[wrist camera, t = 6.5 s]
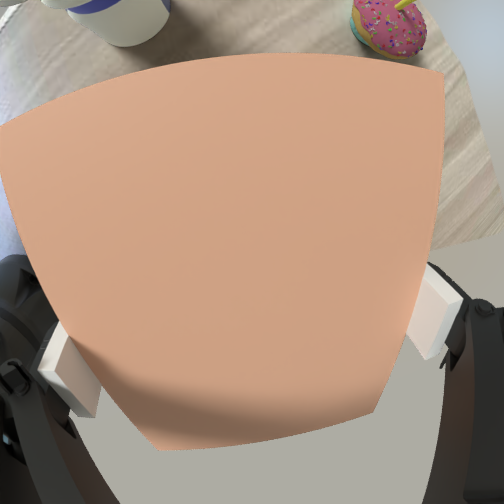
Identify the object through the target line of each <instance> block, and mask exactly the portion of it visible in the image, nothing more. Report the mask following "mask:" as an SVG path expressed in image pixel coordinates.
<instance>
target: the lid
mask: <svg viewBox="0 0 504 504" xmlns="http://www.w3.org/2000/svg"><path fill="white" fill-rule="evenodd" d="M444 131H445V94H444V74H443V73H440V72H437V71H433V70H429V69H425V68H420V67H416V66H411V65H406V64H401V63H396V62H390V61H385V60H378V59H371V58H364V57H355V56H345V55H333V54H316V53H261V54H244V55H232V56H222V57H213V58H206V59H198V60H192V61H186V62H180V63H175V64H169V65H164V66H160V67H155V68H150V69H146V70H142V71H138V72H134V73H130V74H127V75H123V76H119V77H116V78H113V79H109V80H106V81H103V82H100V83H97V84H94V85H91V86H88V87H85V88H82V89H80V90H77V91H74V92H72V93H69V94H66V95H64V96H61V97H59V98H57V99H54V100H52V101H50V102H47V103H45V104H43V105H41V106H38V107H36V108H34V109H32V110H30V111H28V112H26V113H24V114H22V115H20V116H18V117H16V118H14V119H12V120H10V121H8V122H7V123H5V124H3V125H1V126H0V174H1V178H2V182H3V186H4V190H5V193H6V197H7V200H8V203H9V206H10V210H11V213H12V216H13V219H14V222H15V225H16V227H17V230H18V233H19V236H20V238H21V241H22V243H23V246H24V248H25V251H26V253H27V256H28V258H29V260H30V263H31V265H32V267H33V270H34V272H35V274H36V276H37V278H38V280H39V282H40V285H41V287H42V289H43V291H44V293H45V295H46V297H47V299H48V300H49V302H50V304H51V306H52V308H53V310H54V312H55V314H56V315H57V317H58V319H59V321H60V322H61V324H62V326H63V328H64V329H65V331H66V333H67V334H68V335H69V337H70V338H71V340H72V342H73V343H74V345H75V346H76V348H77V349H78V351H79V353H80V354H81V356H82V357H83V359H84V360H85V362H86V363H87V364H88V366H89V367H90V369H91V370H92V372H93V373H94V374H95V376H96V377H97V379H98V380H99V381H100V383H101V384H102V386H103V387H104V389H105V390H106V391H107V393H108V394H109V395H110V396H111V398H112V399H113V400H114V402H115V403H116V404H117V405H118V406H119V408H120V409H121V410H122V411H123V412H124V414H125V415H126V416H127V417H128V418H129V419H130V421H131V422H132V423H133V424H134V425H135V426H136V427H137V429H138V430H139V431H140V432H141V433H142V434H143V435H144V436H145V437H146V438H147V439H148V440H149V441H150V442H151V443H152V444H153V446H154V447H155V448H156V449H157V450H190V449H205V448H216V447H226V446H235V445H242V444H249V443H256V442H262V441H268V440H273V439H278V438H283V437H288V436H293V435H297V434H302V433H306V432H310V431H313V430H318V429H322V428H325V427H329V426H332V425H336V424H339V423H343V422H346V421H349V420H352V419H355V418H358V417H361V416H364V415H367V414H370V413H372V412H373V411H374V409H375V407H376V405H377V403H378V401H379V398H380V396H381V394H382V392H383V390H384V388H385V385H386V383H387V381H388V379H389V376H390V374H391V372H392V369H393V367H394V364H395V361H396V359H397V356H398V354H399V352H400V349H401V346H402V344H403V341H404V338H405V335H406V331H407V328H408V325H409V322H410V319H411V316H412V313H413V310H414V307H415V303H416V300H417V297H418V293H419V289H420V286H421V282H422V278H423V276H424V272H425V268H426V264H427V260H428V255H429V251H430V246H431V241H432V236H433V231H434V226H435V220H436V214H437V207H438V201H439V193H440V185H441V176H442V165H443V152H444Z"/></svg>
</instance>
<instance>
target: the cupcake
mask: <svg viewBox="0 0 504 504" xmlns="http://www.w3.org/2000/svg"><path fill="white" fill-rule="evenodd" d="M414 1H416V0H354V3H353V8H352V17H351V20H350V24H351V29H352V31H353V33H354V35H355V36H356V37H357V38H358V39H359V40H360V41H361V42H362V43H364V44H366V45H369V46H370V47H371V48H372V49H373V50H374V51H376V52H378V53H380V54H382V55H384V56H386V57H387V58H390V59H407V58H410V57H412V56H414V55H416V54H417V53H418V52H419V51H420V50H423V48H422V47H423V45H424V43H425V41H426V36H427V35H426V34H427V30H426V24H425V23H424V21H425V20H424V19H423V17H422V15H423V14H421V12H420V11H419V10H418V8H417V7H416V5H415V4H414V3H413V2H414Z"/></svg>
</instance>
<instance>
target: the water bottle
mask: <svg viewBox="0 0 504 504" xmlns="http://www.w3.org/2000/svg"><path fill="white" fill-rule="evenodd" d="M25 1H27V0H0V7H7V6H12V5H16V4H19V3H22V2H25ZM41 1H42V2H43V3H44V4H45V5H46V6H48V7H51V8H54V9H65V10H66V11H67V13H68V14H69V16H70V17H71V18H73V19H74V20H75V21H76V22H78V23H80V24H81V25H83V26H85V27H86V28H88V29H90V30H91V31H93V32H94V33H96V34H97V35H99V36H100V37H101V38H102V39H104V40H105V41H106V42H108V43H109V44H111V45H114V46H119V47H129V46H134V45H138V44H141V43H143V42H145V41H147V40H149V39H150V38H152V37H153V36H155V35H156V34H157V33H158V32H159V31H160V30H161V29H162V28H163V26H164V25H165V23H166V22H167V20H168V17H169V14H170V8H171V6H170V1H169V0H41Z"/></svg>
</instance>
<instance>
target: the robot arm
mask: <svg viewBox="0 0 504 504" xmlns="http://www.w3.org/2000/svg"><path fill="white" fill-rule="evenodd" d="M406 334H407V335H408V337H409V338H410V339H411V341H412V342H413V344H414V345H415V347H416V348H417V349H418V351H419V352H420V354H421V355H422V357H423V358H424V359H425V360H426V359H429V358H431V357H433V356H435V355H438V354H439V353H440V351H441V349H442V347H443V345H444V343H445V344H446V345H447V346H448V348H449V349H448V351H447V353H446V355H445V357H444V359H443V361H442V363H441V365H440V369H442V367H443V365H444V364H445V363H446V368H445V385H444V397H443V406H442V415H441V422H440V428H439V435H438V441H437V446H436V451H435V456H434V461H433V465H432V469H431V473H430V478H429V481H428V485H427V489H426V492H425V496H424V499H423V502H422V504H504V307H502V308H495V307H494V306H493V305H492V304H491V303H489V302H488V301H486V300H483V299H474V300H472V299H471V298H470V297H469V296H468V295H467V294H466V293H465V292H464V291H463V290H462V289H461V288H460V287H459V286H458V285H457V284H456V283H455V282H454V281H452V279H451V278H450V277H449V276H446V274H445V272H443V271H442V270H441V269H440V268H439V267H438V266H436V265H434V264H432V263H430V262H427V264H426V268H425V272H424V276H423V278H422V282H421V286H420V289H419V293H418V297H417V300H416V303H415V307H414V310H413V313H412V316H411V319H410V322H409V325H408V328H407V331H406ZM101 386H102V384H101V383H100V381H99V380H98V379H97V377H96V376H95V374H94V373H93V372H92V370H91V369H90V367H89V366H88V364H87V363H86V362H85V360H84V359H83V357H82V356H81V354H80V353H79V351H78V349H77V348H76V346H75V345H74V343H73V342H72V340H71V338H70V337H69V335H68V334H67V333H66V331H65V329H64V328H63V326H62V324H61V322H60V321H59V319H58V317H57V315H56V314H55V312H54V310H53V308H52V306H51V304H50V302H49V300H48V299H47V297H46V295H45V293H44V291H43V289H42V287H41V285H40V282H39V280H38V278H37V276H36V274H35V272H34V270H33V267H32V265H31V263H30V260H29V258H28V256H24V255H10V256H7V257H5V258H4V259H2V260H1V261H0V504H120V503H119V501H118V500H117V498H116V497H115V496H114V494H113V492H112V491H111V489H110V488H109V486H108V485H107V483H106V482H105V480H104V479H103V477H102V475H101V473H100V472H99V470H98V468H97V467H96V466H95V463H94V461H93V460H92V458H91V456H90V454H89V452H88V451H87V449H86V447H85V445H84V443H83V441H82V439H81V437H80V435H79V433H78V431H77V429H76V427H75V424H74V422H73V421H72V419H71V418H70V417H69V416H68V415H69V412H70V409H71V410H72V411H73V412H74V413H75V414H76V415H77V416H78V417H87V418H95V414H96V409H97V404H98V400H99V395H100V390H101Z"/></svg>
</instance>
